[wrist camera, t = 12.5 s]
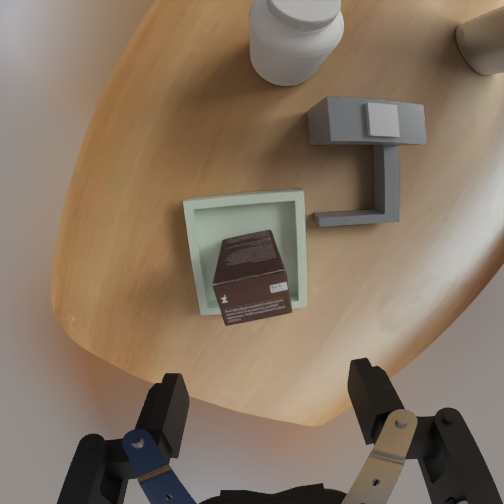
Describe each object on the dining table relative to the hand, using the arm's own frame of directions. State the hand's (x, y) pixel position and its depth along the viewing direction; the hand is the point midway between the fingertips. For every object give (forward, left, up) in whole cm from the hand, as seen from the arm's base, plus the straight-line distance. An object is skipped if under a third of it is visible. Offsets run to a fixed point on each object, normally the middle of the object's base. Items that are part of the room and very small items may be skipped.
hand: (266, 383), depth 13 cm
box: (+1, +1, -23) cm, 23 cm away
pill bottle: (-5, -22, -24) cm, 33 cm away
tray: (+1, +1, -23) cm, 23 cm away
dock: (-12, -8, -23) cm, 28 cm away
